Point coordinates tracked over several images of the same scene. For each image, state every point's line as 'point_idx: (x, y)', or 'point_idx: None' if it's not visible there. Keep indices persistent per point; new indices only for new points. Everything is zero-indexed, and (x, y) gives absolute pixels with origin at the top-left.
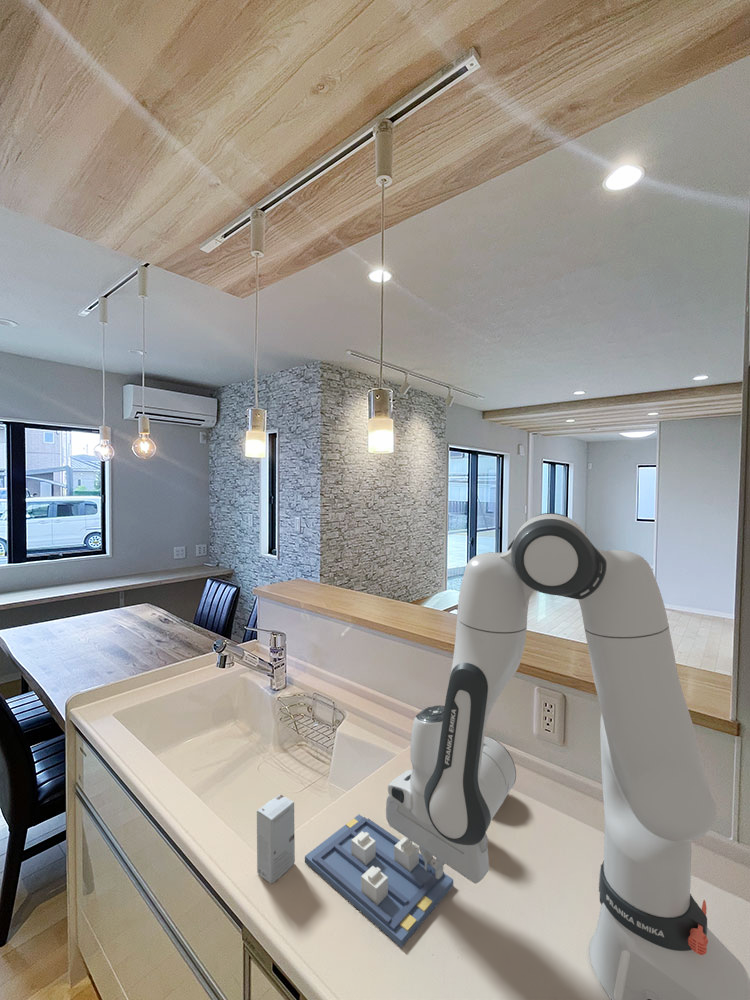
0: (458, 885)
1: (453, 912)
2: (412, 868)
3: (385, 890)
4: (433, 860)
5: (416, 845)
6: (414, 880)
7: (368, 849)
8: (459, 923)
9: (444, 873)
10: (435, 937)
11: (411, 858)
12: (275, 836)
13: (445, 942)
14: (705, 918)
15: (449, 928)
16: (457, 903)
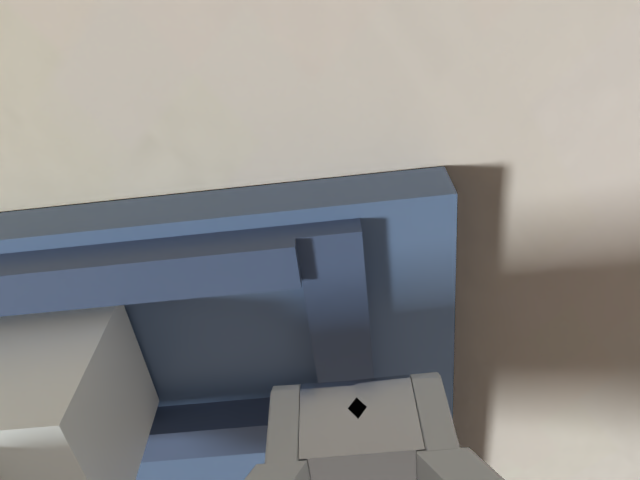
0: (477, 126)
1: (560, 318)
2: (143, 373)
3: None
4: (335, 473)
5: (26, 431)
6: (257, 451)
7: None
8: (630, 342)
9: (352, 204)
10: (545, 466)
11: (120, 474)
12: None
13: (604, 453)
14: None
15: (588, 397)
16: (552, 254)
